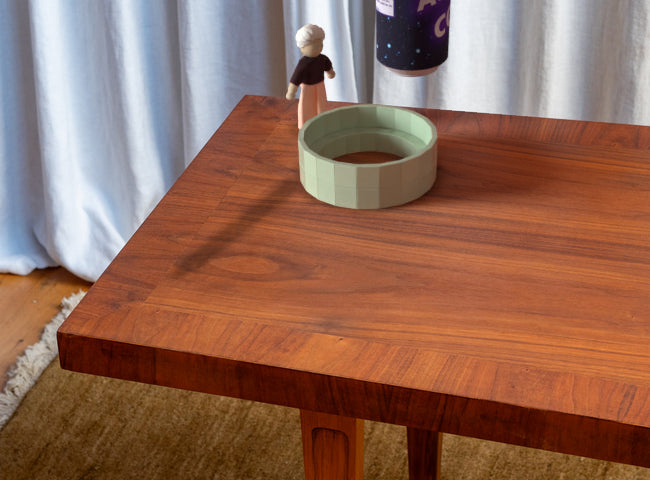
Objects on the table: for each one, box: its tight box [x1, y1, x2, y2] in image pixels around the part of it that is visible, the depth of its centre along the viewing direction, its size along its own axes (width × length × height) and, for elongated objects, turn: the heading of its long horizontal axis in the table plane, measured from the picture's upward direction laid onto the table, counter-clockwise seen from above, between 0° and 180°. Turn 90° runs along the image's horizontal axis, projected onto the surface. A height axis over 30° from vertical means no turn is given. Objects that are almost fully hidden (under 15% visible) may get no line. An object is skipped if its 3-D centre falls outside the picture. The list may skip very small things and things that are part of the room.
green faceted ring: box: [297, 103, 439, 210], centre depth 92 cm, size 14×14×6 cm
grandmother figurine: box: [285, 23, 337, 130], centre depth 100 cm, size 8×4×13 cm, turn 150°
